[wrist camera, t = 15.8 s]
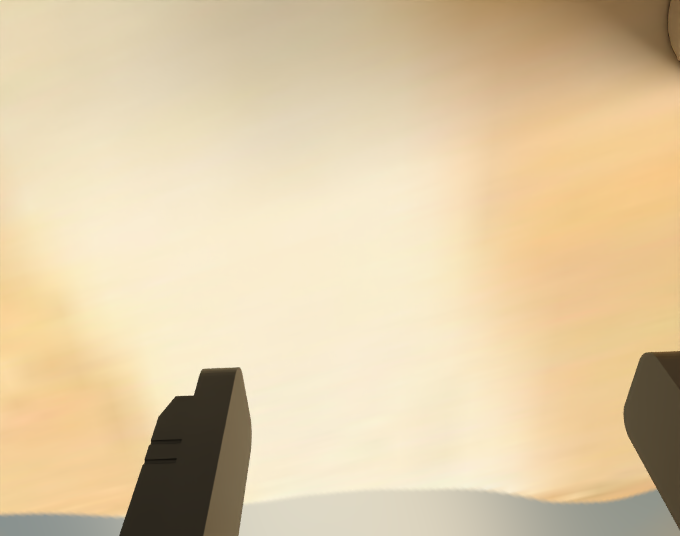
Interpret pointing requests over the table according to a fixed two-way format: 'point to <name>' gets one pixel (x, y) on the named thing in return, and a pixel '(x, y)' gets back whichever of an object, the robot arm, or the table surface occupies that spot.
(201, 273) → the table surface
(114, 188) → the table surface
